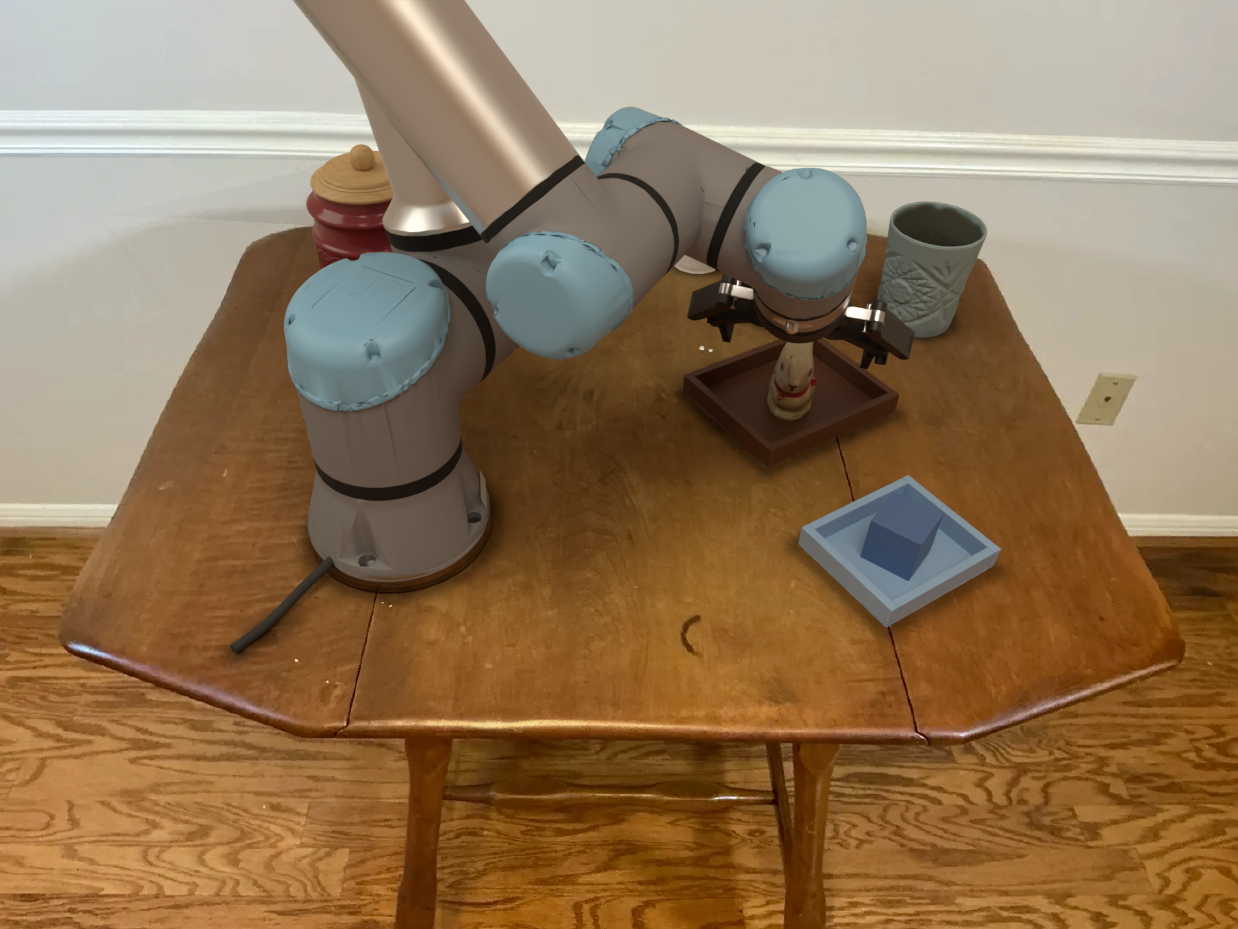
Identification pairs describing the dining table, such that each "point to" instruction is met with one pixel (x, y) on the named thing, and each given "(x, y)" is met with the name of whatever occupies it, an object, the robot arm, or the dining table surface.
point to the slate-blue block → (901, 535)
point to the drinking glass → (929, 263)
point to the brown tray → (741, 407)
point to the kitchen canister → (350, 206)
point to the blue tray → (879, 590)
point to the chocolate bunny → (792, 382)
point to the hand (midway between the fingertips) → (797, 342)
